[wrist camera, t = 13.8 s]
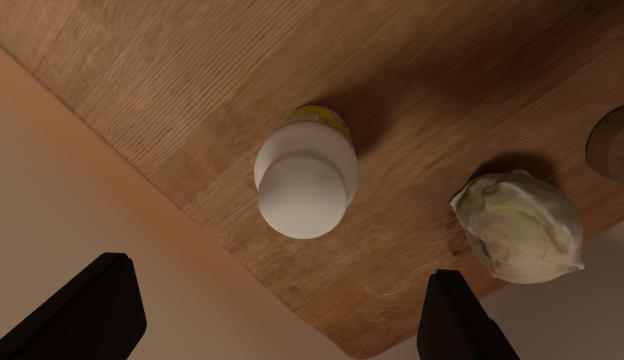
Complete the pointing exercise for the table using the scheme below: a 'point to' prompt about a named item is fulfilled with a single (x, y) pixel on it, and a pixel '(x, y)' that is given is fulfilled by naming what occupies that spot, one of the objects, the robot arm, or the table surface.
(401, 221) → the table surface
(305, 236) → the supplement bottle
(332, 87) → the table surface
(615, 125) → the mortar and pestle
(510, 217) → the cream hollow lumpy ball
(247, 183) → the table surface
